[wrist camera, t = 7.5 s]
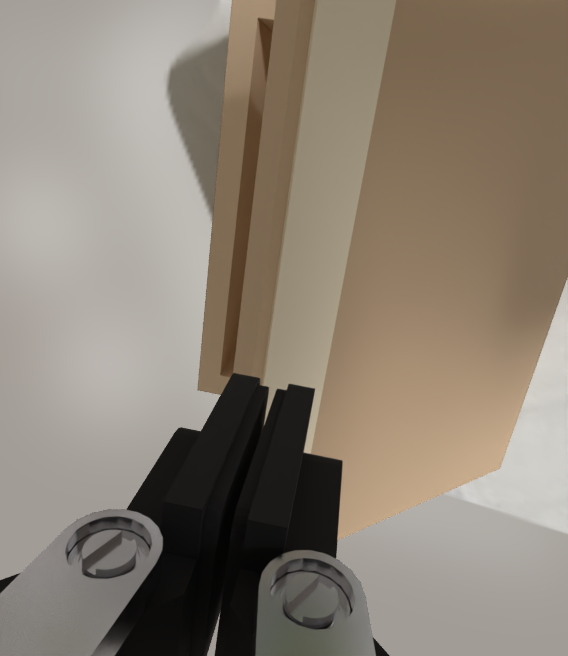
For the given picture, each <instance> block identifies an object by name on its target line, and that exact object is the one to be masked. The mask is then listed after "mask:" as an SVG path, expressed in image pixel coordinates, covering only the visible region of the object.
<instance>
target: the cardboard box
mask: <svg viewBox="0 0 568 656" xmlns="http://www.w3.org/2000/svg"><path fill="white" fill-rule="evenodd" d="M275 6H276V0H232V7H231V18H230V30H229V41H228V52H227V63H226V75H225V86H224V97H223V109H222V120H221V131H220V143H219V154H218V165H217V176H216V188H215V199H214V210H213V222H212V233H211V244H210V255H209V267H208V278H207V290H206V301H205V312H204V323H203V334H202V346H201V357H200V369H199V381H198V390H200V391H205V392H210V393H215V394H220V395H221V394H222V392H223V390H224V388H225V386H226V385H227V383H228V381H229V379H230V377H231V375H232V374H233V370H234V361H235V353H236V344H237V335H238V327H239V318H240V309H241V301H242V292H243V283H244V275H245V266H246V257H247V249H248V240H249V231H250V223H251V214H252V205H253V197H254V188H255V179H256V171H257V162H258V154H259V145H260V136H261V128H262V119H263V110H264V102H265V93H266V84H267V76H268V67H269V58H270V50H271V41H272V32H273V24H274V15H275Z"/></svg>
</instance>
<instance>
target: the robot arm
mask: <svg viewBox="0 0 568 656" xmlns="http://www.w3.org/2000/svg"><path fill="white" fill-rule="evenodd" d="M314 393H315V388H310V387H304V386H299V385H294V384H288V387H287V390H283V389H277V390H276V393H275V395H274V398H273V401H272V404H271V407H270V410H269V413H268V416H267V419H266V422H265V415H266V408H267V401H268V394H269V387H267V386H262V385H260V378H258V377H253V376H247V375H242V374H237V373H233V374H232V375H231V377H230V379H229V381H228V383H227V385H226V386H225V388H224V390H223V392H222V394H221V396H220V397H219V399H218V401H217V403H216V405H215V407H214V409H213V411H212V412H211V414H210V416H209V418H208V419H207V421H206V423H205V425H204V427H203V429H202V431H196V430H191V429H186V428H178V429H177V431H176V432H175V433H174V435H173V436H172V438H171V439H170V441H169V443H168V444H167V446H166V448H165V449H164V451H163V452H162V454H161V455H160V457H159V459H158V460H157V462H156V464H155V465H154V467H153V468H152V470H151V471H150V473H149V474H148V476H147V478H146V479H145V481H144V482H143V484H142V486H141V487H140V489H139V490H138V492H137V494H136V495H135V497H134V498H133V500H132V502H131V503H130V505H129V506H128V508H127V510H125V509H108V510H103V511H99V512H94V513H91V514H89V515H86V516H84V517H82V518H80V519H77V520H76V521H75V522H73V523H72V524H71V525H69V526H68V527H67V528H66V529H64V530H63V531H62V532H61V533H60V535H58V536H57V537H56V538H55V539H54V540H53V541H52V542H51V543H50V544H49V545H48V546H47V547H46V549H44V550H43V551H42V552H41V553H40V554H39V555H38V556H37V557H36V558H35V559H34V560H33V561H32V563H30V565H28V566H27V567H26V568H25V569H24V570H23V571H22V572H21V573H19V574H16V575H14V576H11V577H8V578H5V579H3V580H0V656H207V653H208V650H209V646H210V643H211V640H212V637H213V633H214V630H215V626H216V623H217V620H218V616H219V613H220V619H219V627H218V634H217V642H216V650H215V656H389V655H388V654H387V652H386V651H385V650H384V649H383V648H382V647H381V646H380V645H379V643H378V642H377V641H376V640H375V639H374V638H373V636H372V630H371V624H370V619H369V613H368V608H367V602H366V596H365V593H364V591H363V588H362V585H361V582H360V581H359V580H358V578H357V577H356V576H355V574H354V573H353V571H352V570H351V569H349V568H348V567H347V566H346V565H345V564H343V563H342V562H341V561H340V560H338V559H336V551H337V538H338V524H339V510H340V495H341V481H342V467H343V461H342V460H338V459H333V458H328V457H324V456H319V455H314V454H309V453H304V448H305V443H306V437H307V432H308V426H309V421H310V415H311V410H312V404H313V399H314ZM264 422H265V424H264ZM220 610H221V611H220Z"/></svg>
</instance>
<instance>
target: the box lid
mask: <svg viewBox="0 0 568 656" xmlns="http://www.w3.org/2000/svg"><path fill="white" fill-rule="evenodd" d="M567 277H568V0H276V6H275V15H274V24H273V32H272V41H271V50H270V58H269V67H268V76H267V84H266V93H265V102H264V110H263V119H262V128H261V136H260V145H259V154H258V162H257V171H256V179H255V188H254V197H253V205H252V214H251V223H250V231H249V240H248V249H247V257H246V266H245V275H244V283H243V292H242V301H241V309H240V318H239V327H238V335H237V344H236V353H235V361H234V370H233V373H237V374H242V375H247V376H253V377H258V378H260V385H262V386H267V387H269V394H268V401H267V408H266V415H265V422H266V419H267V416H268V413H269V410H270V407H271V404H272V401H273V398H274V395H275V393H276V390H277V389H283V390H287V387H288V384H294V385H299V386H304V387H310V388H315V393H314V399H313V404H312V410H311V415H310V421H309V426H308V432H307V437H306V443H305V448H304V453H309V454H314V455H319V456H324V457H328V458H333V459H338V460H342V461H343V467H342V481H341V495H340V510H339V524H338V538H337V540H339V539H342V538H344V537H346V536H348V535H351V534H353V533H355V532H357V531H359V530H362V529H364V528H366V527H369V526H371V525H373V524H375V523H377V522H380V521H382V520H384V519H387V518H389V517H391V516H393V515H396V514H398V513H400V512H402V511H405V510H407V509H409V508H411V507H414V506H416V505H418V504H421V503H422V502H425V501H427V500H429V499H431V498H434V497H436V496H439V495H441V494H443V493H445V492H448V491H450V490H452V489H454V488H457V487H459V486H461V485H463V484H466V483H468V482H470V481H472V480H475V479H477V478H479V477H481V476H484V475H486V474H488V473H490V472H493V471H495V470H497V469H499V468H500V467H501V464H502V461H503V458H504V456H505V453H506V450H507V447H508V444H509V441H510V439H511V436H512V433H513V430H514V427H515V424H516V422H517V419H518V416H519V413H520V410H521V407H522V405H523V402H524V399H525V396H526V393H527V390H528V388H529V385H530V382H531V379H532V376H533V373H534V371H535V368H536V365H537V362H538V359H539V356H540V354H541V351H542V348H543V345H544V342H545V339H546V337H547V334H548V331H549V328H550V325H551V322H552V320H553V317H554V314H555V311H556V308H557V305H558V303H559V300H560V297H561V294H562V291H563V288H564V286H565V283H566V280H567ZM265 422H264V424H265Z"/></svg>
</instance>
